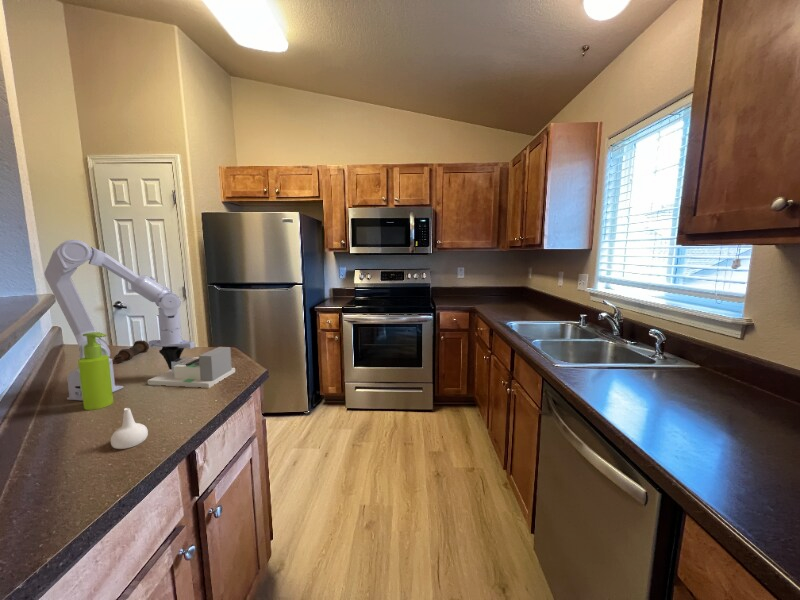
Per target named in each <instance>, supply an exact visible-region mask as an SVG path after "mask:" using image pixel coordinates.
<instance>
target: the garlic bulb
mask: <svg viewBox="0 0 800 600" xmlns="http://www.w3.org/2000/svg"><path fill="white" fill-rule="evenodd" d="M148 436H149V429H148V428H147V426H146V425H144V424H143V423H138V422H136V421H135V418H134V416H133V413H132V410H131V408H130V407H125V408H123V419H122V425H121V426H119V428H117V429H116V430H115V431H114V432H113V433H112V434H111V437H110V445H111V447H112V448H114V449H116V450H124V449H126V450H127V449H130V448H134V447H136V446H138V445H140V444H142V443H143V442H144V441H145V440H146V439H147V438H148Z"/></svg>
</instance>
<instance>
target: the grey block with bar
mask: <svg viewBox="0 0 800 600" xmlns="http://www.w3.org/2000/svg"><path fill="white" fill-rule="evenodd" d="M176 365H186V366H189V365H198V366H200V364H199V358H194V357H190V356H180V358H178V359H176V360H174V361H171V366H172V375H174V366H176Z"/></svg>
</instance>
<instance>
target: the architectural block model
mask: <svg viewBox="0 0 800 600" xmlns="http://www.w3.org/2000/svg"><path fill="white" fill-rule="evenodd" d="M231 350H232V349H231V347H229V346H218V347H215V348H213V349H211V350H208V351H206V352H204V353H201V354H200V355H198V356H197V357H195V356H194V357H193V358H199V364H200V366H198V365H189V366H186V365H176V366H174V375H172V370H171V369H169V370H167V371H165V372H162V373H160V374H159V375H156V376H155V377H152V378H150V379H147V385H149V386H161V385H166V386H167V387H179V386H185V387H184V388H186V387H187V388H198V387H201V388H200V389H202V388H203V389H210V388H212V387H213V386H215V385H216V384H218V383H220V382H221V381H223V380H224V378H225V379H226V378H228V377H230V376H232V375H233V374H234V373H236V367H232V352H231ZM219 381H220V382H219ZM214 384H215V385H214ZM166 386H165V387H166Z"/></svg>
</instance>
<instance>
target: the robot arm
mask: <svg viewBox="0 0 800 600" xmlns="http://www.w3.org/2000/svg"><path fill="white" fill-rule="evenodd" d="M86 262H88V264H89V265H91V266H96V267H97V266H98V267H102V268H104V269H106V270H107V271H109V272H111V273H113V274H114V275H116V276H117V277H120V278H121V279H122V280H125V281H126V282H128V283H129V284H130V287H131V290H132V291H133V292H135V293H136V294H138V295H139V296H141V297H143V298H145V299H146V300H148V301H149V302H150V303H151V302H152V303H154V304H155V305H156V307H158V318H157V319H158V326H159V339H152V340H149V341H148V342H147V343H148V344H149V348H160V349H159V351H158V352H159V354H160V355H161V357H163V358H164V360H165V361H166V364H167V367H168V369H169V370H172V366H171V361H174V360H176V359H178V358H181V357H182V356H181V355H182V354H183V351H184V350H185V349H187V350H191V349H194V348H195V341H189V340H185V339H183V338H182V325H181V314H180V306H181V304H182V301H181V299H180V297H179V296H178V294H176V293H173V292H172V291H170V288H169V287H168V286H163V285H162V284H160V283H159V282H158V281H156V280H157V279H156V278H155V277H153V276H150V277H149V276H148V275H138V274H137V273H136V272H135V271H133V270H131V269H130V268H128V267H126V266H125V265H123V264H122V263H121V262H119V261H118V260H116V259H115V258H113V257H112V256H111V255H109V254H108V253H105V252H104V251H102V250H100V249H98V248H95V247H93V246H89V244H87V243H86V242H84V241H82V240H79V239H68V240H65V241H63V242H62V243H60V244H59V245H58V246H57V247H56V248H55V249H54V250H53V251H52V254H51V256H50V259H49V261H48V263H47V266H46V268H45V270H44V273H43V275H44V277H45V280H46V281H47V283H48V285H49V287H50V289H51V291H52V293H53V295H54V298H55V300H56V302H57V303H58V306H59V307H60V310H61V311H62V314H63V315H64V317H65V319H66V321H67V323H68V326H69V327H70V329H71V332H72V333H73V335H74V338H75V341H76V343H77V345H78V351H79V356H78V357H79V360H80V359H82V358H85V357H84V348H83V347H84V346H85V345H87V336H83V334H85V333H90V332H97V329H96V328H95V325H94V323H93V322H92V319H91V317H90V315H89V313H88V310H87V309H86V307H85V305H84V303H83V300H82V298H81V296H80V294H79V292H78V290H77V287H76V286H75V284H74V282H73V280H72V275H73V274H74V273H75V271H76V270H77V269H78V267H80V266H81V265H83V264H85V263H86ZM96 343H98V344H101V350H102V355H107V356H109V365H110V374H111V383H112V392H113V393H114V392H117V391H119V390H121V389H123V388H124V386H123V385H116V383H115V374H114V372H115V371H114V364H113V363H114V362H113V358H110V357H111V350H110V348H109V344H108V342H107V341H106V340H104V339H103V338H102V337H100V338H97V337H96ZM77 365H78V366H77V368H75V369H74V370H72V371H71V372H69V373H68V375H67V378H66V379H67V389H68V396H69V397H66V399H67V400H69V401H83V396H82V388H81V380H80V372H79V364H77Z"/></svg>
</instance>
